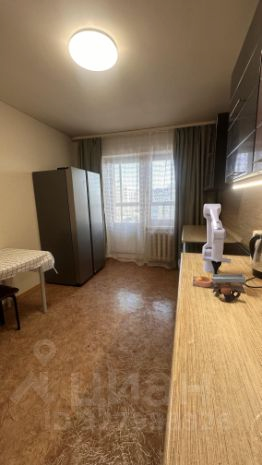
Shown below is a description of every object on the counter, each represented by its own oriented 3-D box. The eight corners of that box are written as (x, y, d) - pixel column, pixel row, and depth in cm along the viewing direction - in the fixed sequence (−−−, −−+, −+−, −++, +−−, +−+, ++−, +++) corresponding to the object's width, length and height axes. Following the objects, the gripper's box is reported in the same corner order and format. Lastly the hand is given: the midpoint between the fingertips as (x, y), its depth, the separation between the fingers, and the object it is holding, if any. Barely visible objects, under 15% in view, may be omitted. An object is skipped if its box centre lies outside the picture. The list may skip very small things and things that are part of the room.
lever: (212, 276, 118) (212, 269, 117) (241, 275, 113) (240, 268, 112) (213, 285, 106) (213, 278, 105) (246, 285, 101) (245, 277, 100)
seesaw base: (193, 277, 121) (194, 270, 120) (241, 283, 112) (241, 276, 112) (192, 287, 108) (192, 280, 107) (245, 295, 100) (246, 287, 99)
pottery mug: (214, 304, 93) (211, 286, 95) (215, 304, 101) (212, 287, 104) (243, 302, 88) (238, 283, 91) (242, 302, 96) (237, 284, 99)
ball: (199, 282, 113) (195, 278, 113) (203, 279, 112) (200, 275, 112) (199, 284, 110) (195, 280, 110) (203, 281, 109) (200, 277, 109)
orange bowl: (195, 279, 116) (195, 275, 116) (211, 281, 113) (211, 277, 113) (194, 285, 108) (195, 281, 108) (211, 288, 105) (212, 283, 105)
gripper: (203, 251, 110) (201, 274, 113) (232, 253, 106) (230, 278, 108) (203, 248, 117) (202, 270, 120) (230, 250, 112) (228, 273, 115)
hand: (215, 273), depth 114 cm, fingers closed
